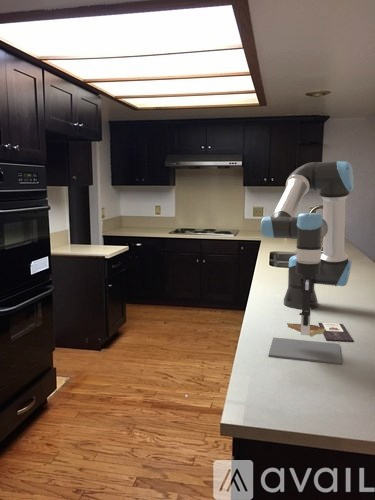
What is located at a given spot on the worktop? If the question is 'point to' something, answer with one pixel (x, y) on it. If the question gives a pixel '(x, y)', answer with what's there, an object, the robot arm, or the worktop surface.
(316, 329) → the shard
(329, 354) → the rubber mat
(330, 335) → the chocolate bar
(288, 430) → the worktop surface
